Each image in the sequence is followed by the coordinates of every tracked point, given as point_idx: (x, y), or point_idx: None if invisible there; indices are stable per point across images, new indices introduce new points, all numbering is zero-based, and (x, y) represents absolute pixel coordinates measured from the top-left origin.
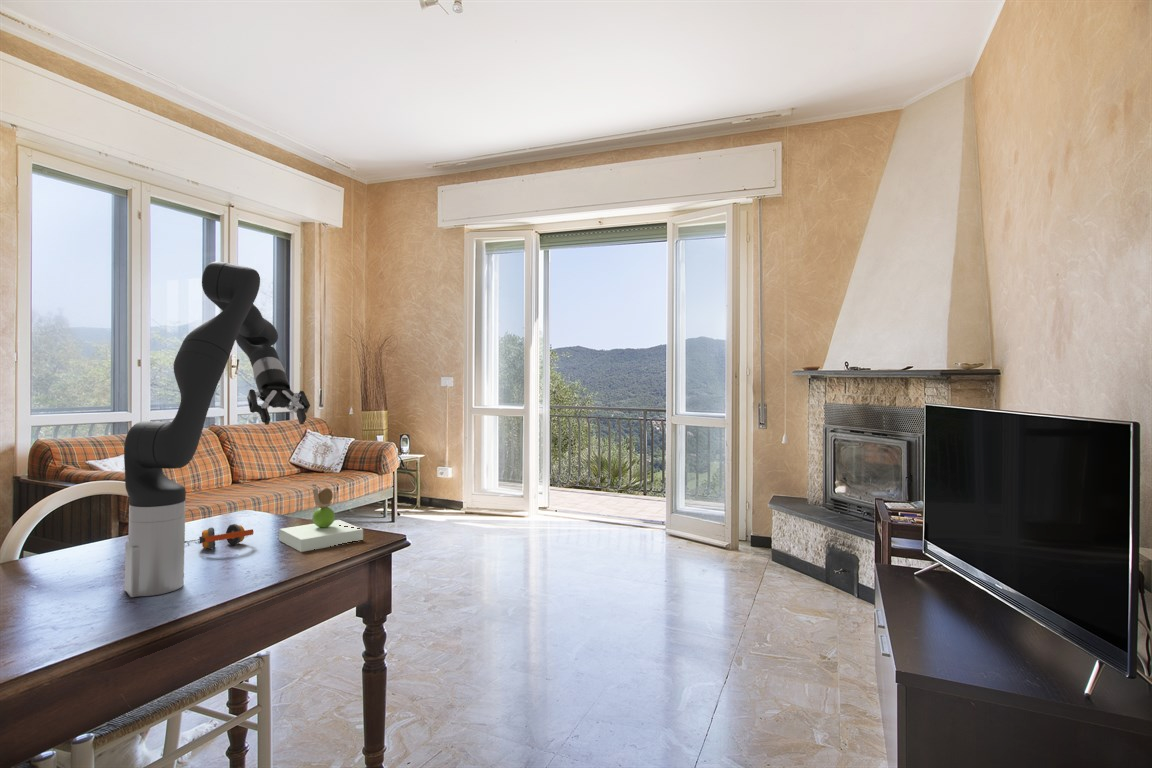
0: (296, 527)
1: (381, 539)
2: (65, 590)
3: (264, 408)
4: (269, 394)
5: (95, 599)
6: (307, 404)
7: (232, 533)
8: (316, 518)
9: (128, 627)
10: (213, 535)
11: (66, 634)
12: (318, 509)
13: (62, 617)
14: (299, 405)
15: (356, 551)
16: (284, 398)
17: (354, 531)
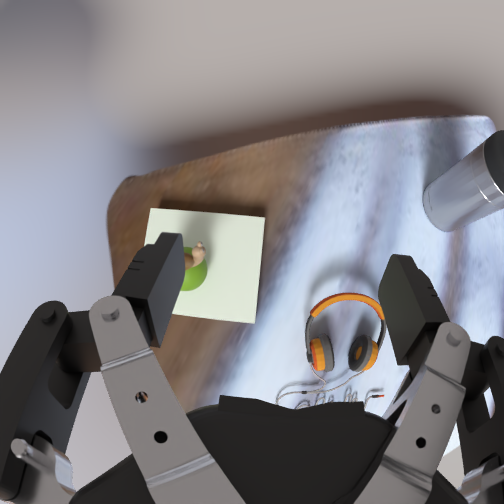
0: (225, 310)
1: (134, 200)
2: (493, 271)
3: (443, 325)
4: (433, 473)
5: None
6: (48, 315)
7: (355, 294)
8: (205, 261)
9: (457, 131)
10: (379, 307)
11: None
12: (193, 268)
13: None
14: (117, 327)
15: (202, 167)
16: (234, 451)
17: (167, 209)
